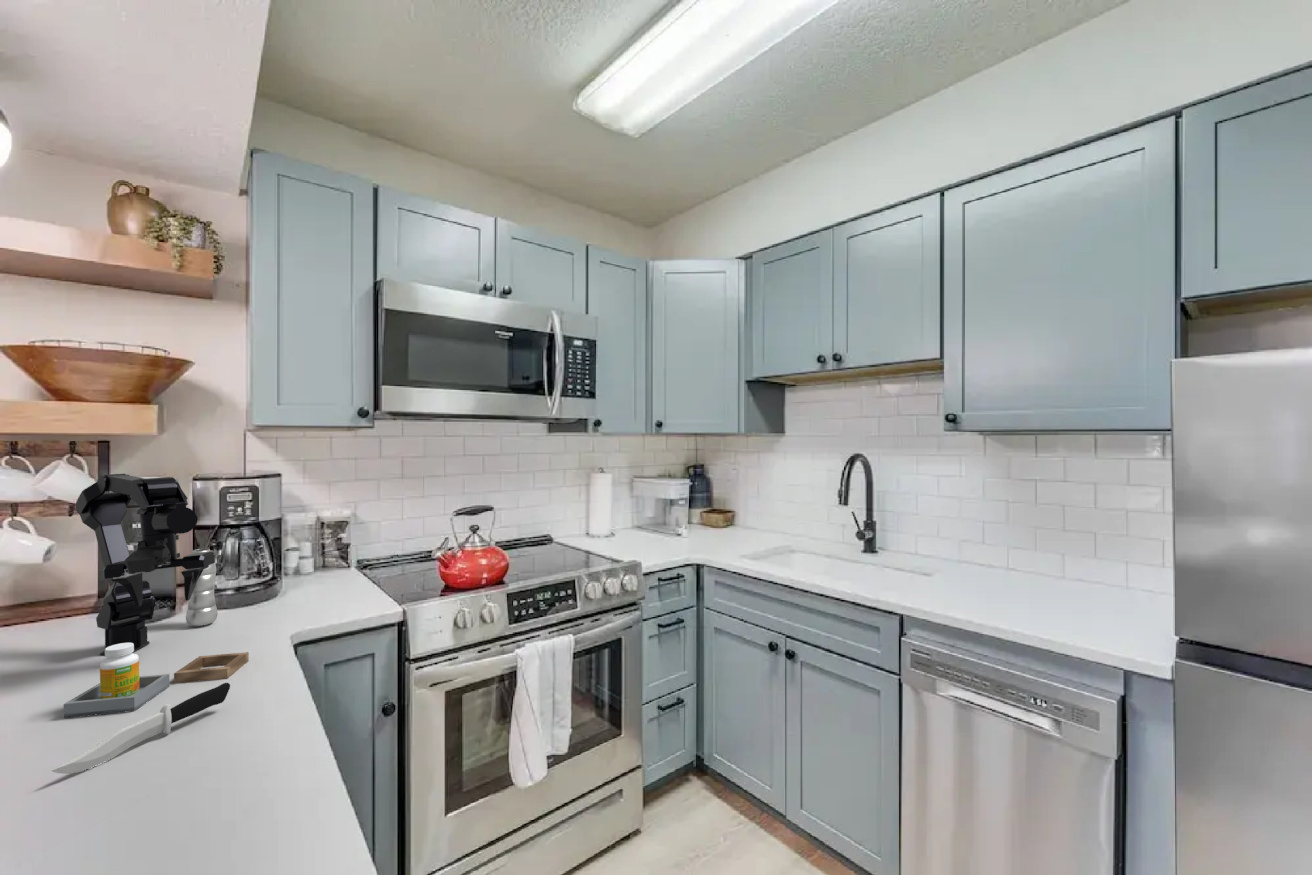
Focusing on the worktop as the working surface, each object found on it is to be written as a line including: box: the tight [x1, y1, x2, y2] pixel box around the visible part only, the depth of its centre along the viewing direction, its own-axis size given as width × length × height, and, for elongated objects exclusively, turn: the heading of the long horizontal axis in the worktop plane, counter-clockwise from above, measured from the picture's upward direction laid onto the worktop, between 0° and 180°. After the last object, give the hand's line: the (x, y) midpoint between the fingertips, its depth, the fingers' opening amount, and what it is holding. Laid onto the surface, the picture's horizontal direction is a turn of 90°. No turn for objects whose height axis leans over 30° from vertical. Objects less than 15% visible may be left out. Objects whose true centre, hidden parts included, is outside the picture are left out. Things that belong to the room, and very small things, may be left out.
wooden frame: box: [173, 651, 250, 684], centre depth 121 cm, size 9×9×2 cm
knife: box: [50, 682, 231, 775], centre depth 93 cm, size 25×2×5 cm, turn 163°
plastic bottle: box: [185, 548, 219, 627], centre depth 152 cm, size 6×7×20 cm
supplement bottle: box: [99, 643, 140, 699], centre depth 108 cm, size 5×5×10 cm
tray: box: [63, 673, 171, 719], centre depth 107 cm, size 11×11×2 cm
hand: (163, 603), depth 128 cm, fingers open, 9 cm apart
